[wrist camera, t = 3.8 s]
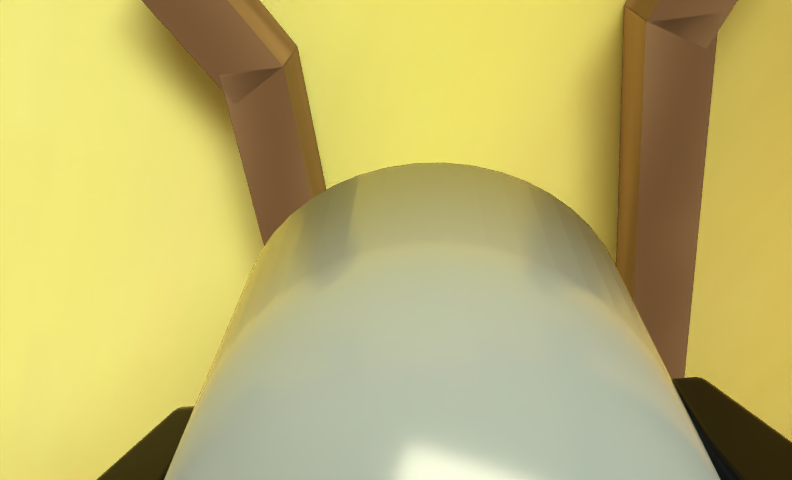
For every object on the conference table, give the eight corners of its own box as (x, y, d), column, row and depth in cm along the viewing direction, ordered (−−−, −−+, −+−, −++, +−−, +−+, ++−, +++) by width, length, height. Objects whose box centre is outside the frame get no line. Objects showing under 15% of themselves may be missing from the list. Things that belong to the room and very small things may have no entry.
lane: (783, -175, 15) (927, -189, 11) (706, 448, 25) (766, 575, 20) (134, -79, 17) (31, -56, 12) (295, 474, 26) (268, 597, 22)
